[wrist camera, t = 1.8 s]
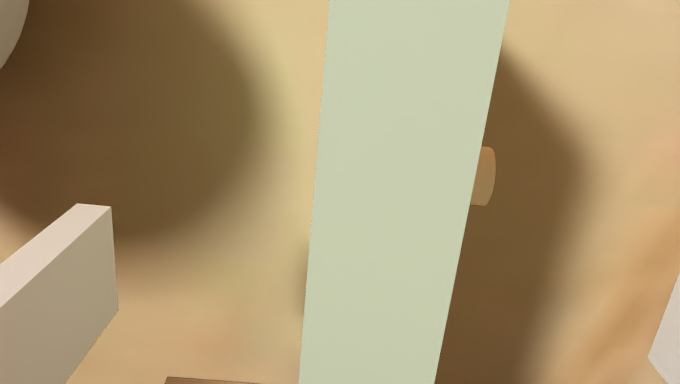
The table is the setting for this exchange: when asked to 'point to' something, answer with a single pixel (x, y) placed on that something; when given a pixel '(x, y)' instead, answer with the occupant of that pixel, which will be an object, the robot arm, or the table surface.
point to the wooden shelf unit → (197, 381)
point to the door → (395, 182)
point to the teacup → (11, 25)
